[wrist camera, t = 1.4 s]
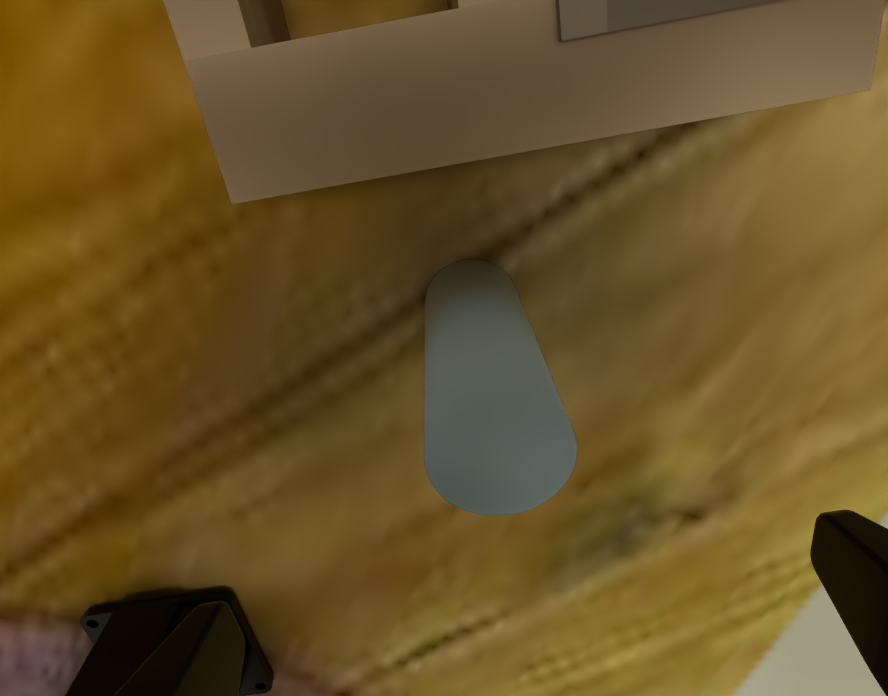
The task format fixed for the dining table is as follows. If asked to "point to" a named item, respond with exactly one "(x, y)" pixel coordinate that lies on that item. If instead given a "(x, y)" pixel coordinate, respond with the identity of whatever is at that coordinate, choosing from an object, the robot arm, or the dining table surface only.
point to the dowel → (489, 397)
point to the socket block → (497, 78)
